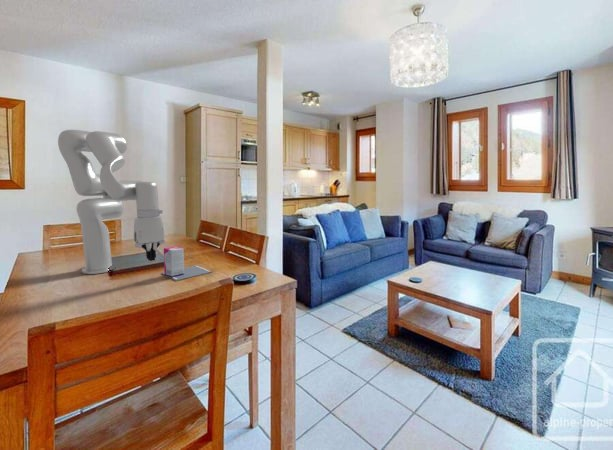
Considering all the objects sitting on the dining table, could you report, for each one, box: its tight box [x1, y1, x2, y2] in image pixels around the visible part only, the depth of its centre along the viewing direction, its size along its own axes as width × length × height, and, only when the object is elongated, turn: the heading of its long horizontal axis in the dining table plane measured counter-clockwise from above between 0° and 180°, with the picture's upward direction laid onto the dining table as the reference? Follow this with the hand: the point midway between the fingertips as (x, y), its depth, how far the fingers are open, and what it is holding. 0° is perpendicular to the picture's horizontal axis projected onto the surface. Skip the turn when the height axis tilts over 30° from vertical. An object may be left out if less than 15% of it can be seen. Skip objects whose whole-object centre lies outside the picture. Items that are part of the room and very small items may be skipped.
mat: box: [161, 264, 213, 282], centre depth 131 cm, size 14×16×1 cm
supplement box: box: [163, 246, 185, 278], centre depth 126 cm, size 6×6×12 cm
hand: (151, 259), depth 119 cm, fingers closed
